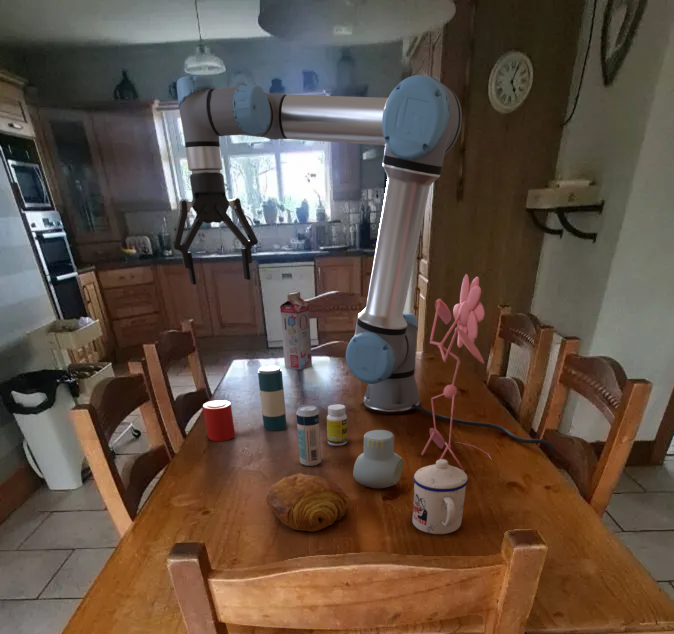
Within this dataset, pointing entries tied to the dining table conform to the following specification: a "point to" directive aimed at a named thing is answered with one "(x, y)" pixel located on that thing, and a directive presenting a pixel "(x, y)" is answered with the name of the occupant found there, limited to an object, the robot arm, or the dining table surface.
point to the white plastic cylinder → (308, 435)
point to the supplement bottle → (336, 425)
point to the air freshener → (378, 461)
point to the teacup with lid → (439, 498)
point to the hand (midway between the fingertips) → (221, 281)
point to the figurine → (467, 330)
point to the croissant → (307, 501)
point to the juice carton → (296, 332)
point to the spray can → (272, 397)
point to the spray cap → (219, 420)
